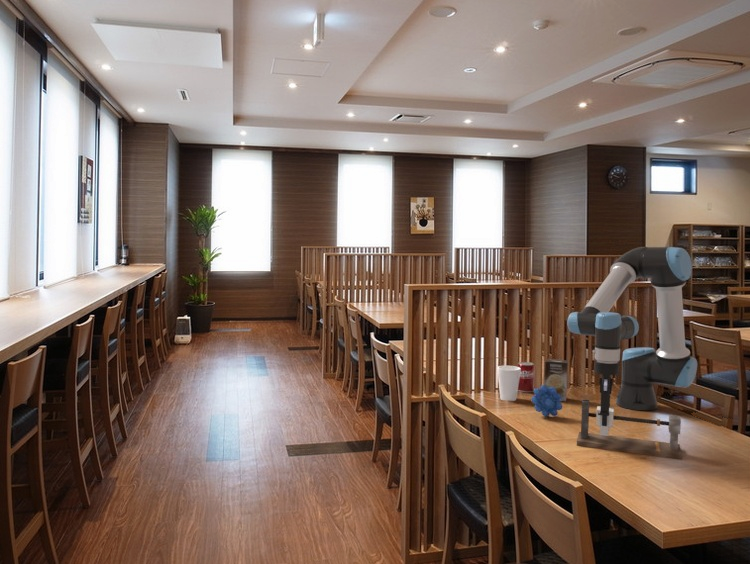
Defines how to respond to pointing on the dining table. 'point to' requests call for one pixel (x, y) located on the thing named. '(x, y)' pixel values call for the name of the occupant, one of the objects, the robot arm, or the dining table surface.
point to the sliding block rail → (629, 443)
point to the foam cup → (508, 382)
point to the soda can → (526, 377)
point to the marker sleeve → (611, 414)
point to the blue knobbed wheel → (547, 400)
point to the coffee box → (556, 376)
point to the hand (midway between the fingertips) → (604, 432)
